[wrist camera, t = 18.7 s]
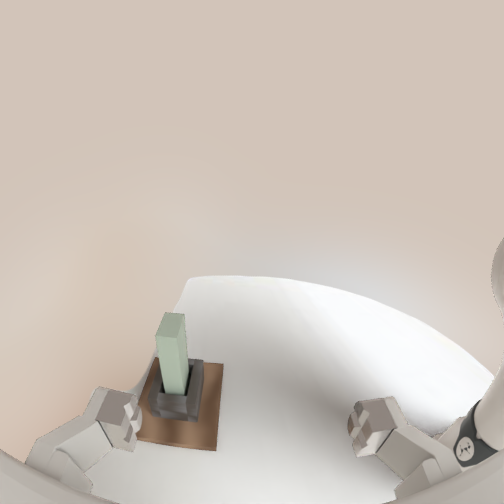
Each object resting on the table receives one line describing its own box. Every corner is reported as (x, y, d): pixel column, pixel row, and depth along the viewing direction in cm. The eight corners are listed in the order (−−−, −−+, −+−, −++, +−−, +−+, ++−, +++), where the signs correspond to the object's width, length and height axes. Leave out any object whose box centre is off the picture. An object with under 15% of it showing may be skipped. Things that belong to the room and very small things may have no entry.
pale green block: (190, 386, 47) (184, 314, 41) (186, 410, 41) (176, 338, 35) (174, 384, 46) (165, 312, 41) (168, 408, 41) (155, 335, 35)
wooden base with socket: (223, 368, 54) (223, 344, 52) (216, 451, 35) (214, 431, 33) (155, 361, 53) (151, 338, 51) (129, 437, 34) (119, 416, 32)
